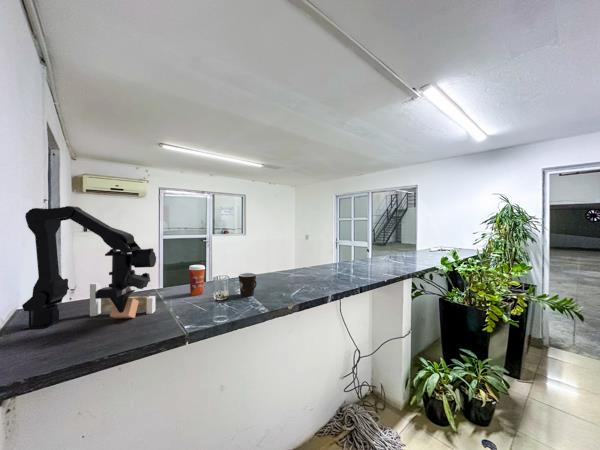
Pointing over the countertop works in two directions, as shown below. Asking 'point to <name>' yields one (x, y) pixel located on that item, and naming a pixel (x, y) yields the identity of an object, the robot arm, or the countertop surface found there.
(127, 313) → the doorstop block
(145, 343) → the countertop surface
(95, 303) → the twin post hurdle
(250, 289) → the coffee mug
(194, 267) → the paper cup
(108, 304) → the gate
